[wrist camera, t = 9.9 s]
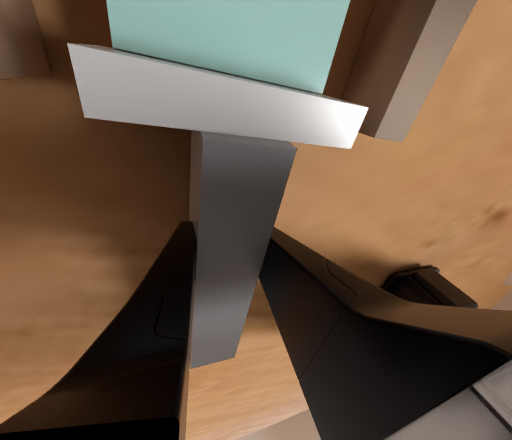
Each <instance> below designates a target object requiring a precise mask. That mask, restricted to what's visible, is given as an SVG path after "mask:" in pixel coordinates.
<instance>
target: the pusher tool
mask: <svg viewBox="0 0 512 440" xmlns="http://www.w3.org/2000/svg"><path fill="white" fill-rule="evenodd" d="M67 45H68V49H69V53H70V58H71V62H72V66H73V70H74V75H75V79H76V83H77V88H78V92H79V96H80V101H81V105H82V109H83V113H84V117H85V118H93V119H102V120H110V121H119V122H127V123H136V124H144V125H153V126H161V127H170V128H178V129H187V130H191V164H190V204H189V221H192V223H193V227H194V232H195V237H196V254H195V277H194V296H193V313H192V330H191V347H190V369H193V368H196V367H200V366H204V365H208V364H212V363H215V362H219V361H223V360H227V359H231V358H234V357H235V354H236V350H237V347H238V344H239V340H240V337H241V334H242V330H243V327H244V324H245V320H246V317H247V314H248V310H249V307H250V304H251V300H252V297H253V294H254V290H255V287H256V284H257V280H258V277H259V274H260V270H261V267H262V264H263V260H264V257H265V254H266V250H267V247H268V244H269V240H270V237H271V234H272V230H273V227H274V224H275V220H276V217H277V214H278V210H279V207H280V204H281V200H282V197H283V194H284V190H285V187H286V184H287V180H288V177H289V174H290V170H291V167H292V164H293V160H294V157H295V154H296V150H297V148H295V147H294V146H293V145H292V144H290V143H289V142H297V143H305V144H314V145H322V146H331V147H339V148H348V149H351V147H352V145H353V142H354V140H355V138H356V136H357V133H358V131H359V129H360V127H361V124H362V122H363V120H364V117H365V115H366V113H367V111H368V107H364V106H361V105H358V104H354V103H351V102H347V101H344V100H340V99H337V98H333V97H330V96H326V95H323V94H318V93H314V92H309V91H304V90H300V89H295V88H291V87H286V86H282V85H277V84H273V83H268V82H264V81H259V80H255V79H250V78H246V77H241V76H237V75H232V74H228V73H223V72H219V71H214V70H210V69H205V68H201V67H196V66H191V65H187V64H182V63H178V62H173V61H169V60H164V59H160V58H155V57H151V56H146V55H142V54H137V53H133V52H128V51H124V50H119V49H115V48H110V47H106V46H101V45H89V44H74V43H67Z"/></svg>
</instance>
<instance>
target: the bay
mask: <svg viewBox="0 0 512 440" xmlns="http://www.w3.org/2000/svg"><path fill="white" fill-rule="evenodd" d="M476 2H477V0H376V2H375V5H374V8H373V11H372V14H371V17H370V19H369V22H368V25H367V28H366V31H365V34H364V37H363V40H362V43H361V46H360V48H359V51H358V54H357V57H356V60H355V63H354V66H353V69H352V72H351V74H350V77H349V80H348V83H347V86H346V89H345V92H344V95H343V98H342V100H344V101H347V102H351V103H354V104H358V105H361V106H364V107H368V111H367V113H366V115H365V117H364V120H363V122H362V124H361V127H360V129H359V131H358V132H359V133H362V134H365V135H368V136H371V137H373V138H379V139H385V140H392V141H398V142H403V141H404V139H405V137H406V135H407V133H408V131H409V129H410V127H411V126H412V124H413V122H414V120H415V118H416V116H417V114H418V112H419V110H420V108H421V107H422V105H423V103H424V101H425V99H426V97H427V95H428V93H429V91H430V89H431V87H432V86H433V84H434V82H435V80H436V78H437V76H438V74H439V72H440V70H441V68H442V67H443V65H444V63H445V61H446V59H447V57H448V55H449V53H450V51H451V49H452V47H453V46H454V44H455V42H456V40H457V38H458V36H459V34H460V32H461V30H462V28H463V27H464V25H465V23H466V21H467V19H468V17H469V15H470V13H471V11H472V9H473V7H474V6H475V4H476ZM44 75H51V72H50V68H49V64H48V61H47V57H46V53H45V49H44V45H43V42H42V38H41V34H40V30H39V27H38V23H37V19H36V15H35V11H34V8H33V4H32V0H0V79H9V78H21V77H32V76H44Z"/></svg>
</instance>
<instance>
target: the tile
mask: <svg viewBox="0 0 512 440" xmlns="http://www.w3.org/2000/svg"><path fill="white" fill-rule="evenodd" d="M106 2H107V10H108V17H109V24H110V32H111V39H112V47H113V48H116V49H119V50H124V51H128V52H133V53H137V54H142V55H146V56H151V57H155V58H160V59H164V60H169V61H173V62H178V63H182V64H187V65H191V66H196V67H201V68H205V69H210V70H214V71H219V72H223V73H228V74H232V75H237V76H241V77H246V78H250V79H255V80H259V81H264V82H268V83H273V84H277V85H282V86H286V87H291V88H295V89H300V90H304V91H309V92H314V93H319V94H323V90H324V87H325V84H326V80H327V77H328V74H329V70H330V67H331V64H332V60H333V57H334V54H335V50H336V47H337V44H338V40H339V37H340V33H341V30H342V27H343V23H344V20H345V17H346V13H347V10H348V7H349V3H350V0H106Z"/></svg>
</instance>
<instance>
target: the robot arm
mask: <svg viewBox="0 0 512 440" xmlns="http://www.w3.org/2000/svg"><path fill="white" fill-rule="evenodd" d="M195 254H196V237H195V232H194V227H193V223H192V221H182V222H180V224H179V225H178V227H177V228H176V230H175V231H174V233H173V234H172V236H171V237H170V239H169V240H168V242H167V244H166V245H165V247H164V248H163V250H162V251H161V253H160V254H159V256H158V257H157V259H156V260H155V262H154V263H153V265H152V266H151V268H150V269H149V271H148V272H147V274H146V275H145V277H144V279H143V280H142V281H141V283H140V284H139V286H138V287H137V289H136V290H135V292H134V293H133V295H132V296H131V297H130V299H129V300H128V302H127V303H126V304H125V305H124V307H123V308H122V309H121V310H120V312H119V313H118V314H117V315H116V317H115V318H114V319H113V320H112V321H111V323H110V324H109V325H108V326H107V327H106V328H105V330H104V331H103V332H102V333H101V334H100V335H99V337H98V338H97V339H96V340H95V341H94V342H93V344H92V345H91V346H90V347H89V348H88V350H87V351H86V352H85V353H84V354H83V355H82V357H81V358H80V359H79V360H78V361H77V362H76V364H75V365H74V366H73V367H72V368H71V369H70V370H69V372H68V373H67V374H66V375H65V376H64V377H63V378H62V379H61V380H60V381H59V382H57V383H56V384H55V385H54V386H53V387H52V388H51V389H50V390H48V391H47V392H46V393H45V394H43V395H42V396H41V397H40V398H38V399H37V400H35V401H34V402H32V403H31V404H29V405H28V406H27V407H25V408H24V409H22V410H21V411H19V412H18V413H16V414H15V415H13V416H12V417H10V418H9V419H7V420H6V421H4V422H3V423H1V424H0V440H185V432H186V415H187V398H188V381H189V364H190V347H191V330H192V313H193V296H194V277H195ZM439 271H440V270H439V269H438V268H437V267H430V268H423V269H417V270H411V271H404V272H398V273H395V274H393V275H392V276H391V277H390V278H389V279H388V281H387V282H386V284H385V285H384V286H383V288H382V289H381V288H379V287H377V286H375V285H373V284H371V283H369V282H367V281H365V280H364V279H362V278H360V277H358V276H356V275H354V274H352V273H350V272H349V271H347V270H345V269H343V268H342V267H340V266H338V265H336V264H335V263H333V262H331V261H330V260H328V259H326V258H325V257H323V256H321V255H320V254H318V253H317V252H315V251H313V250H312V249H310V248H308V247H307V246H305V245H303V244H302V243H300V242H298V241H297V240H295V239H293V238H292V237H290V236H288V235H287V234H285V233H283V232H282V231H280V230H278V229H277V228H275V227H273V230H272V234H271V237H270V240H269V244H268V247H267V250H266V254H265V257H264V260H263V264H262V267H261V270H260V274H259V279H260V282H261V284H262V287H263V289H264V292H265V295H266V297H267V300H268V302H269V305H270V308H271V310H272V313H273V315H274V318H275V321H276V323H277V326H278V328H279V331H280V334H281V336H282V339H283V341H284V344H285V347H286V349H287V352H288V354H289V357H290V360H291V362H292V365H293V367H294V370H295V373H296V375H297V378H298V380H299V383H300V386H301V388H302V391H303V394H304V396H305V399H306V401H307V404H308V407H309V409H310V412H311V414H312V417H313V420H314V422H315V425H316V427H317V430H318V433H319V435H320V438H321V440H512V311H505V310H504V311H503V310H489V309H477V307H478V304H477V303H476V302H475V301H474V300H473V299H471V298H470V297H469V296H467V295H466V294H465V293H464V292H462V291H461V290H460V289H458V288H457V287H456V286H454V285H453V284H452V283H451V282H449V281H448V280H447V279H445V278H444V277H443V276H441V275H440V274H439Z"/></svg>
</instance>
